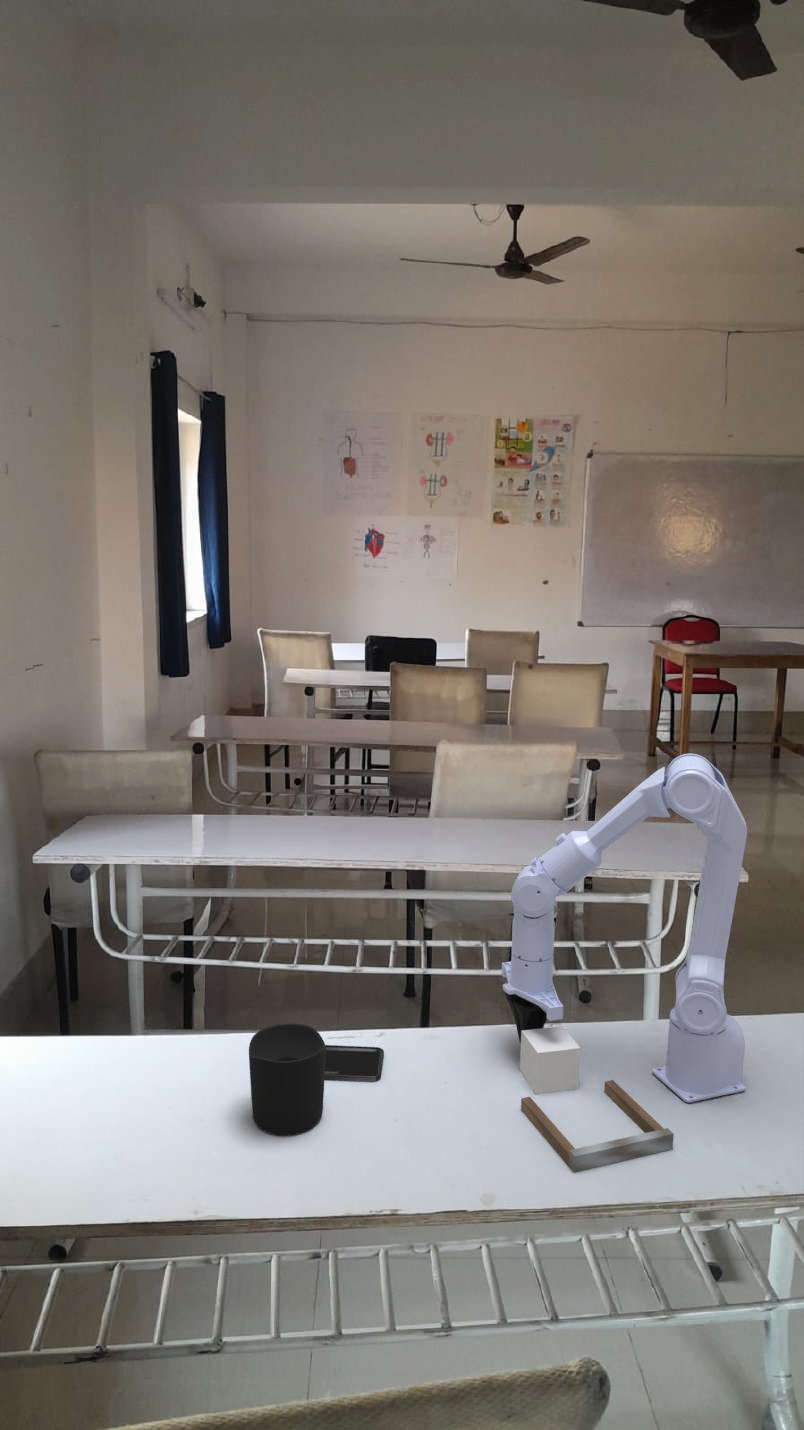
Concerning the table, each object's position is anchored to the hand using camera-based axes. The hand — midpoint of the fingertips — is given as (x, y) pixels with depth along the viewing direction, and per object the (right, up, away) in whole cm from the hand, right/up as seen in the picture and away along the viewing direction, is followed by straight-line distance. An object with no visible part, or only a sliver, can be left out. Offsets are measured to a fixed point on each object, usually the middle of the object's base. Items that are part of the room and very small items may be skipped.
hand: (528, 1044), depth 135 cm
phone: (-28, -2, -2) cm, 28 cm away
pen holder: (-32, -4, -14) cm, 35 cm away
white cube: (+2, -3, -5) cm, 6 cm away
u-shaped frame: (+6, -5, -15) cm, 17 cm away
